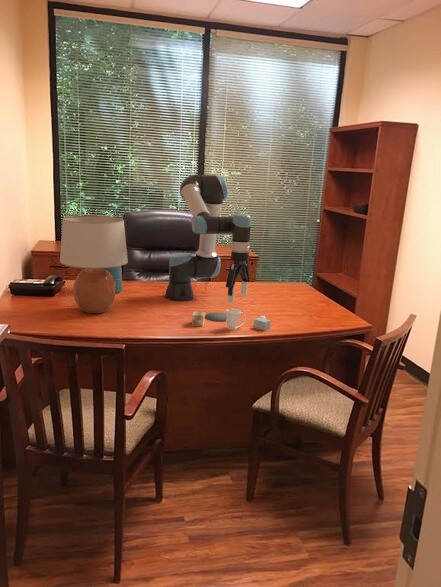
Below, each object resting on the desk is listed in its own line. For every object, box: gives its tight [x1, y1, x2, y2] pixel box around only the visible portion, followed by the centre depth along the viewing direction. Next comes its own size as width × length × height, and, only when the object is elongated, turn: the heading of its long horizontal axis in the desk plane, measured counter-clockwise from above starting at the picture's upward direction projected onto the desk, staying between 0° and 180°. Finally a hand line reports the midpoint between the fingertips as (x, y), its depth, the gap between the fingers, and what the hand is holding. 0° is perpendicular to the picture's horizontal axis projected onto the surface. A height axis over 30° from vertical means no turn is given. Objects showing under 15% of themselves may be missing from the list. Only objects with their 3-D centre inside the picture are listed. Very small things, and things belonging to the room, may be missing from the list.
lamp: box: [59, 215, 129, 314], centre depth 222 cm, size 30×30×43 cm
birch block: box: [191, 311, 206, 327], centre depth 216 cm, size 5×5×5 cm
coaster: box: [205, 311, 227, 322], centre depth 228 cm, size 12×12×1 cm
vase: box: [103, 266, 124, 294], centre depth 260 cm, size 16×16×27 cm
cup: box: [225, 308, 247, 331], centre depth 214 cm, size 7×10×8 cm
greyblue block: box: [253, 317, 272, 332], centre depth 216 cm, size 6×4×4 cm, turn 48°
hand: (237, 299), depth 211 cm, fingers open, 13 cm apart
